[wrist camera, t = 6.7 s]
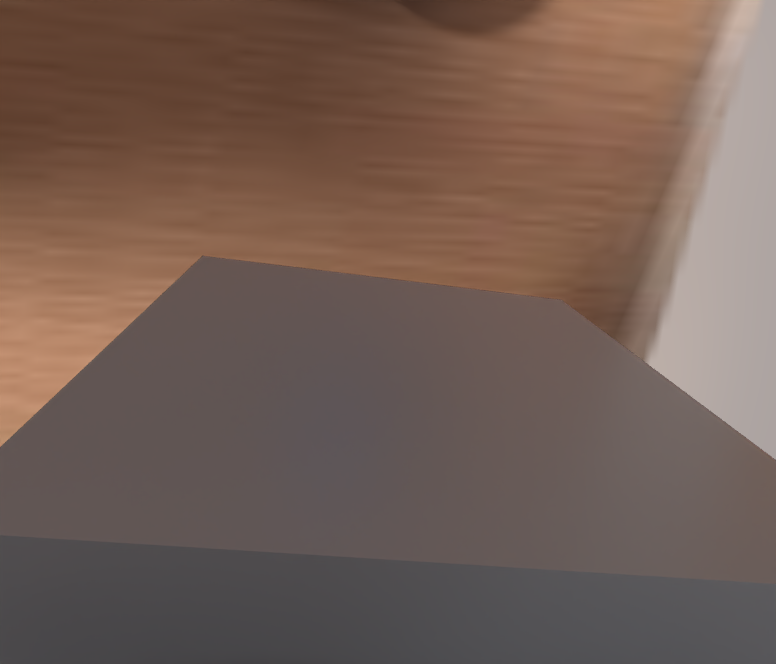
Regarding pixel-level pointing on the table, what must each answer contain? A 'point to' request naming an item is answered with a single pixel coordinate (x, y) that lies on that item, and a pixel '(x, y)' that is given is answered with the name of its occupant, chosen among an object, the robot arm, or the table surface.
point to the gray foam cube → (379, 489)
